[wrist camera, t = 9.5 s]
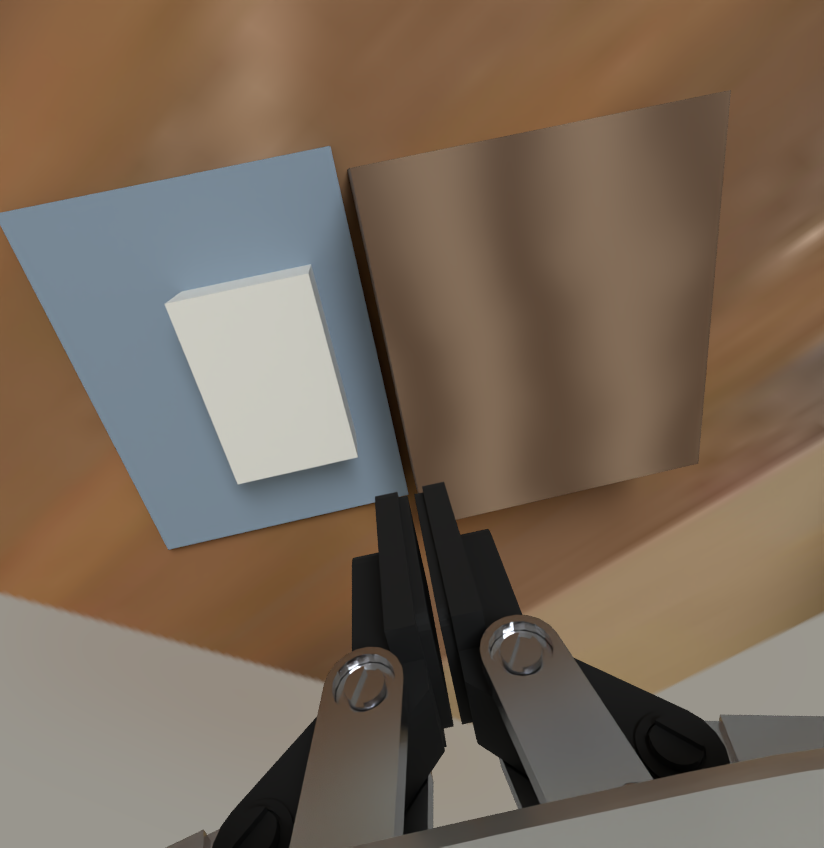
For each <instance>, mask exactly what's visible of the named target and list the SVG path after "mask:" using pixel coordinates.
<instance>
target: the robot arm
mask: <svg viewBox="0 0 824 848" xmlns="http://www.w3.org/2000/svg"><path fill="white" fill-rule="evenodd" d="M422 489H423V492H422V493H418V494H414V495H415V500H416V505H417V510H418V515H419V521H420V526H421V531H422V536H423V541H424V546H425V551H426V556H427V561H428V567H429V572H430V577H431V582H432V587H433V592H434V597H435V602H436V608H437V612H438V617H439V622H440V627H441V631H442V636H443V640H444V645H445V649H446V654H447V658H448V663H449V667H450V672H451V676H452V681H453V685H454V690H455V694H456V699H457V703H458V708H459V712H460V717H461V722H462V724H466V723H471V722H473V726H474V730H475V734H476V739H477V742H478V744H479V745H481V746H482V747H484V748H485V749H487V750H489V751H490V752H492V753H493V754H495V755H496V756H498V757H499V759H500V764H501V767H502V770H503V773H504V775H505V777H506V780H507V782H508V785H509V787H510V790H511V792H512V795H513V797H514V800H515V802H516V805H517V807H518V809H517V810H513V811H508V812H504V813H500V814H495V815H490V816H486V817H481V818H477V819H473V820H468V821H463V822H459V823H455V824H450V825H446V826H442V827H437V828H433V776H432V770H433V768H434V767H435V765H436V764H437V762H438V760H439V759H440V757H441V756H442V755H443V753H444V751H445V749H444V747H446V741H445V734H444V728H448V727H453V720H452V714H451V709H450V703H449V698H448V693H447V687H446V682H445V676H444V671H443V665H442V660H441V655H440V649H439V644H438V638H437V633H436V628H435V622H434V617H433V611H432V606H431V600H430V595H429V590H428V585H427V580H426V576H425V571H424V567H423V563H422V558H421V554H420V549H419V545H418V541H417V536H416V532H415V527H414V523H413V518H412V514H411V510H410V505H409V501H408V497H407V496H404V497H399V496H398V492H393V493H389V494H384V495H379V496H375V507H376V522H377V536H378V550H379V553H374V554H369V555H365V556H360V557H356V558H353V560H352V652H350V653H348V654H346V655H345V656H344V657H342V658H341V659H340V660H339V661H338V662H336V663H335V665H334V666H333V667H332V669H331V670H330V672H329V673H328V675H327V678H326V681H325V683H324V687H323V692H322V697H321V701H320V706H319V710H318V715H317V717H316V718H315V719H314V721H313V722H312V723H311V724H310V725H309V726H308V727H307V728H306V729H305V731H304V732H303V733H302V734H301V735H300V736H299V737H298V738H297V740H296V741H295V742H294V743H293V744H292V745H291V746H290V747H289V748H288V750H287V751H286V752H285V753H284V754H283V755H282V756H281V757H280V758H279V760H278V761H277V762H276V763H275V764H274V765H273V767H271V769H270V770H269V771H268V772H267V773H266V774H265V775H264V776H263V777H262V779H261V780H260V781H259V782H258V783H257V784H256V785H255V787H254V788H253V789H252V790H251V791H250V792H249V793H248V794H247V795H246V796H245V798H244V799H243V800H242V801H241V802H240V803H239V804H238V805H237V807H236V808H235V809H234V810H233V811H232V812H231V813H230V815H229V816H228V818H227V819H226V820H225V822H224V823H223V824H222V826H221V827H220V829H219V830H217V831H215V832H213V833H210V834H208V835H207V834H206V832H205V831H204V830H202V831H200V832H198V833H195V834H193V835H191V836H189V837H187V838H185V839H183V840H181V841H179V842H177V843H175V844H173V845H170V846H168V847H167V848H824V717H823V716H822V717H820V716H764V715H763V716H762V715H761V716H760V715H720V718H719V721H704V720H702V719H701V718H699V717H698V716H696V715H694V714H693V713H691V712H689V711H688V710H685V709H683V708H681V707H679V706H677V705H675V704H672V703H670V702H668V701H666V700H664V699H662V698H660V697H657V696H655V695H653V694H651V693H649V692H647V691H644V690H642V689H640V688H638V687H636V686H634V685H631V684H629V683H627V682H625V681H623V680H621V679H618V678H616V677H614V676H612V675H610V674H608V673H606V672H603V671H601V670H599V669H597V668H595V667H593V666H590V665H588V664H586V663H584V662H582V661H580V660H577V659H575V658H573V656H572V655H571V653H570V652H569V650H568V649H567V647H566V646H565V644H564V643H563V641H562V640H561V638H560V637H559V635H558V634H557V632H556V631H555V630H554V629H553V628H552V627H551V626H550V625H549V624H547V623H546V622H544V621H542V620H541V619H539V618H535V617H532V616H529V615H522V613H521V610H520V608H519V605H518V602H517V600H516V597H515V595H514V592H513V589H512V587H511V584H510V582H509V579H508V577H507V574H506V571H505V569H504V566H503V564H502V561H501V559H500V556H499V553H498V551H497V548H496V546H495V543H494V540H493V538H492V535H491V533H490V531H489V530H488V529H485V530H481V531H476V532H471V533H467V534H462V535H460V533H459V530H458V526H457V523H456V520H455V516H454V513H453V510H452V506H451V503H450V500H449V496H448V493H447V490H446V486H445V483H444V482H440V483H435V484H431V485H426V486H422Z"/></svg>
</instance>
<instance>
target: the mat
mask: <svg viewBox="0 0 824 848" xmlns="http://www.w3.org/2000/svg"><path fill="white" fill-rule="evenodd" d="M0 225H1V227H2V229H3V231H4V233H5V235H6V237H7V239H8V241H9V243H10V245H11V246H12V248H13V250H14V252H15V254H16V256H17V258H18V260H19V262H20V264H21V266H22V268H23V270H24V272H25V274H26V275H27V277H28V279H29V281H30V283H31V285H32V287H33V289H34V291H35V293H36V295H37V297H38V299H39V301H40V303H41V304H42V306H43V308H44V310H45V312H46V314H47V316H48V318H49V320H50V322H51V324H52V326H53V328H54V330H55V332H56V334H57V335H58V337H59V339H60V341H61V343H62V345H63V347H64V349H65V351H66V353H67V355H68V357H69V359H70V361H71V363H72V364H73V366H74V368H75V370H76V372H77V374H78V376H79V378H80V380H81V382H82V384H83V386H84V388H85V390H86V392H87V393H88V395H89V397H90V399H91V401H92V403H93V405H94V407H95V409H96V411H97V413H98V415H99V417H100V419H101V421H102V422H103V424H104V426H105V428H106V430H107V432H108V434H109V436H110V438H111V440H112V442H113V444H114V446H115V448H116V450H117V451H118V453H119V455H120V457H121V459H122V461H123V463H124V465H125V467H126V469H127V471H128V473H129V475H130V477H131V479H132V480H133V482H134V484H135V486H136V488H137V490H138V492H139V494H140V496H141V498H142V500H143V502H144V504H145V506H146V508H147V509H148V511H149V513H150V515H151V517H152V519H153V521H154V523H155V525H156V527H157V529H158V531H159V533H160V535H161V537H162V538H163V540H164V542H165V544H166V546H167V548H168V550H169V549H174V548H178V547H182V546H187V545H191V544H195V543H200V542H204V541H208V540H213V539H217V538H221V537H226V536H230V535H234V534H239V533H243V532H248V531H252V530H256V529H261V528H265V527H269V526H274V525H278V524H282V523H287V522H291V521H295V520H300V519H304V518H309V517H313V516H317V515H322V514H326V513H330V512H335V511H339V510H343V509H348V508H352V507H356V506H361V505H365V504H369V503H374V502H375V496H379V495H384V494H389V493H393V492H398V496H399V497H400V496H404V495H409V494H408V490H407V485H406V481H405V476H404V472H403V468H402V463H401V459H400V454H399V450H398V445H397V441H396V436H395V432H394V428H393V423H392V419H391V414H390V410H389V405H388V401H387V396H386V392H385V388H384V383H383V379H382V374H381V370H380V365H379V361H378V356H377V352H376V347H375V343H374V339H373V334H372V330H371V325H370V321H369V316H368V312H367V307H366V303H365V299H364V294H363V290H362V285H361V281H360V276H359V272H358V267H357V263H356V259H355V254H354V250H353V245H352V241H351V236H350V232H349V227H348V223H347V218H346V214H345V210H344V205H343V201H342V196H341V192H340V187H339V183H338V178H337V174H336V170H335V165H334V161H333V156H332V152H331V147H330V146H327V147H322V148H317V149H313V150H308V151H303V152H298V153H293V154H288V155H283V156H278V157H273V158H268V159H263V160H258V161H253V162H249V163H244V164H239V165H234V166H229V167H224V168H219V169H214V170H209V171H204V172H199V173H194V174H189V175H184V176H180V177H175V178H170V179H165V180H160V181H155V182H150V183H145V184H140V185H135V186H130V187H125V188H120V189H115V190H111V191H106V192H101V193H96V194H91V195H86V196H81V197H76V198H71V199H66V200H61V201H56V202H51V203H47V204H42V205H37V206H32V207H27V208H22V209H17V210H12V211H7V212H2V213H0ZM310 264H311V266H312V269H313V273H314V277H315V281H316V284H317V288H318V292H319V296H320V300H321V303H322V307H323V311H324V315H325V318H326V322H327V326H328V330H329V334H330V337H331V341H332V345H333V349H334V352H335V356H336V360H337V364H338V368H339V371H340V375H341V379H342V383H343V386H344V390H345V394H346V398H347V402H348V405H349V409H350V413H351V417H352V420H353V424H354V428H355V432H356V439H357V452H358V457H357V458H352V459H348V460H344V461H339V462H335V463H330V464H326V465H322V466H317V467H313V468H308V469H304V470H299V471H295V472H291V473H286V474H282V475H277V476H273V477H269V478H264V479H260V480H255V481H251V482H246V483H242V484H237V481H236V479H235V477H234V474H233V472H232V469H231V467H230V464H229V462H228V459H227V457H226V454H225V452H224V449H223V447H222V445H221V442H220V440H219V437H218V435H217V432H216V430H215V427H214V425H213V422H212V420H211V417H210V415H209V413H208V410H207V408H206V405H205V403H204V400H203V398H202V395H201V393H200V390H199V388H198V385H197V383H196V381H195V378H194V376H193V373H192V371H191V368H190V366H189V363H188V361H187V358H186V356H185V353H184V351H183V349H182V346H181V344H180V341H179V339H178V336H177V334H176V331H175V329H174V326H173V324H172V321H171V319H170V317H169V314H168V312H167V309H166V307H165V303H166V302H168V301H169V300H170V299H172V298H173V297H175V296H176V295H177V294H179V293H180V292H182V291H187V290H191V289H196V288H201V287H206V286H210V285H215V284H220V283H224V282H229V281H234V280H239V279H243V278H248V277H253V276H258V275H262V274H267V273H272V272H276V271H281V270H286V269H291V268H295V267H300V266H305V265H310Z"/></svg>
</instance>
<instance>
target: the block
mask: <svg viewBox="0 0 824 848" xmlns="http://www.w3.org/2000/svg"><path fill="white" fill-rule="evenodd" d="M165 307H166V309H167V312H168V314H169V317H170V319H171V321H172V324H173V326H174V329H175V331H176V334H177V336H178V339H179V341H180V344H181V346H182V349H183V351H184V353H185V356H186V358H187V361H188V363H189V366H190V368H191V371H192V373H193V376H194V378H195V381H196V383H197V385H198V388H199V390H200V393H201V395H202V398H203V400H204V403H205V405H206V408H207V410H208V413H209V415H210V417H211V420H212V422H213V425H214V427H215V430H216V432H217V435H218V437H219V440H220V442H221V445H222V447H223V449H224V452H225V454H226V457H227V459H228V462H229V464H230V467H231V469H232V472H233V474H234V477H235V479H236V481H237V484H242V483H246V482H251V481H255V480H260V479H264V478H269V477H273V476H277V475H282V474H286V473H291V472H295V471H299V470H304V469H308V468H313V467H317V466H322V465H326V464H330V463H335V462H339V461H344V460H348V459H352V458H357V457H358V452H357V439H356V432H355V428H354V424H353V420H352V417H351V413H350V409H349V405H348V402H347V398H346V394H345V390H344V386H343V383H342V379H341V375H340V371H339V368H338V364H337V360H336V356H335V352H334V349H333V345H332V341H331V337H330V334H329V330H328V326H327V322H326V318H325V315H324V311H323V307H322V303H321V300H320V296H319V292H318V288H317V284H316V281H315V277H314V273H313V269H312V266H311V264H310V265H305V266H300V267H295V268H291V269H286V270H281V271H276V272H272V273H267V274H262V275H258V276H253V277H248V278H243V279H239V280H234V281H229V282H224V283H220V284H215V285H210V286H206V287H201V288H196V289H191V290H187V291H182V292H180V293H179V294H177V295H176V296H175V297H173V298H172V299H170V300H169V301H168V302H166V303H165Z"/></svg>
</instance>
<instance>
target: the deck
mask: <svg viewBox="0 0 824 848" xmlns="http://www.w3.org/2000/svg"><path fill="white" fill-rule="evenodd" d="M730 94H731V90H729V91H724V92H719V93H715V94H710V95H705V96H700V97H695V98H690V99H685V100H680V101H676V102H671V103H666V104H661V105H656V106H651V107H646V108H641V109H637V110H632V111H627V112H622V113H617V114H612V115H607V116H602V117H597V118H593V119H588V120H583V121H578V122H573V123H568V124H563V125H558V126H554V127H549V128H544V129H539V130H534V131H529V132H524V133H519V134H515V135H510V136H505V137H500V138H495V139H490V140H485V141H480V142H475V143H471V144H466V145H461V146H456V147H451V148H446V149H441V150H436V151H432V152H427V153H422V154H417V155H412V156H407V157H402V158H397V159H393V160H388V161H383V162H378V163H373V164H368V165H363V166H358V167H353V168H349V169H348V170H347V171H348V175H349V180H350V185H351V189H352V194H353V199H354V203H355V208H356V213H357V217H358V222H359V227H360V231H361V236H362V240H363V245H364V250H365V254H366V259H367V264H368V268H369V273H370V278H371V282H372V287H373V292H374V296H375V301H376V305H377V310H378V315H379V319H380V324H381V329H382V333H383V338H384V343H385V347H386V352H387V357H388V361H389V366H390V370H391V375H392V380H393V384H394V389H395V394H396V398H397V403H398V408H399V412H400V417H401V422H402V426H403V431H404V435H405V440H406V445H407V449H408V454H409V459H410V463H411V468H412V473H413V477H414V481H415V485H416V489H417V492H418V493H422V492H423V489H422V486H426V485H431V484H435V483H440V482H444V483H445V486H446V490H447V493H448V496H449V500H450V503H451V506H452V510H453V513H454V516H455V520H457V519H461V518H466V517H470V516H474V515H478V514H483V513H487V512H491V511H496V510H500V509H504V508H509V507H513V506H517V505H522V504H526V503H530V502H534V501H539V500H543V499H547V498H552V497H556V496H560V495H565V494H569V493H573V492H577V491H582V490H586V489H590V488H595V487H599V486H603V485H608V484H612V483H616V482H621V481H625V480H629V479H633V478H638V477H642V476H646V475H651V474H655V473H659V472H664V471H668V470H672V469H676V468H681V467H685V466H689V465H694V464H698V461H699V449H700V438H701V426H702V415H703V403H704V392H705V380H706V369H707V357H708V346H709V334H710V323H711V312H712V300H713V289H714V277H715V266H716V254H717V243H718V231H719V220H720V208H721V197H722V185H723V174H724V163H725V151H726V140H727V128H728V117H729V105H730Z"/></svg>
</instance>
